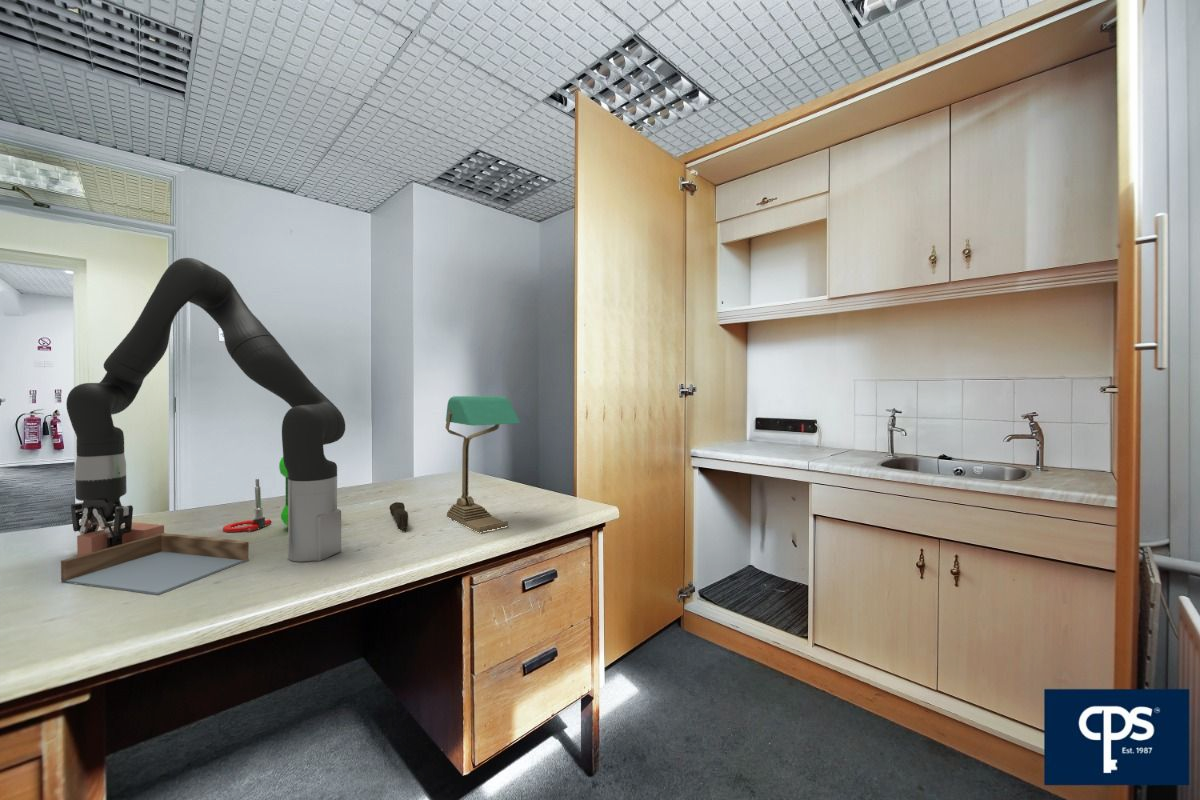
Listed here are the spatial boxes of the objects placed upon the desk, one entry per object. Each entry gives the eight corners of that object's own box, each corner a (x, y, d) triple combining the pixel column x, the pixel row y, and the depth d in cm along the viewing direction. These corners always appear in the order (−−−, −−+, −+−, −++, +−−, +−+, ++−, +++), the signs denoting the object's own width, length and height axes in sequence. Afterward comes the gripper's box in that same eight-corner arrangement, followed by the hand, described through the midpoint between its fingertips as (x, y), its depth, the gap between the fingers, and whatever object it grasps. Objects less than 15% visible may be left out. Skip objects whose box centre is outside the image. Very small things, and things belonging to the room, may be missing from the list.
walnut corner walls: (248, 560, 99) (248, 541, 99) (158, 594, 82) (157, 572, 82) (163, 550, 103) (163, 532, 103) (61, 581, 87) (60, 560, 87)
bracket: (164, 546, 106) (164, 525, 106) (110, 563, 96) (109, 539, 96) (133, 543, 108) (133, 522, 108) (77, 559, 98) (77, 535, 98)
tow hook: (214, 534, 117) (249, 533, 116) (211, 483, 117) (247, 482, 116) (241, 524, 125) (274, 523, 125) (239, 476, 125) (272, 476, 125)
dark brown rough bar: (389, 515, 135) (389, 500, 134) (404, 514, 136) (404, 498, 136) (392, 535, 118) (392, 517, 117) (409, 533, 119) (409, 515, 119)
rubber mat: (248, 560, 99) (248, 558, 99) (158, 594, 82) (158, 592, 82) (163, 550, 103) (163, 548, 103) (61, 581, 87) (61, 579, 87)
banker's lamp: (485, 510, 141) (486, 395, 140) (522, 526, 126) (524, 397, 125) (434, 519, 131) (435, 395, 130) (469, 538, 115) (470, 397, 114)
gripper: (147, 474, 102) (148, 549, 103) (97, 470, 105) (99, 543, 106) (105, 480, 95) (106, 561, 95) (52, 476, 98) (54, 555, 98)
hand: (102, 552), depth 100 cm, fingers open, 6 cm apart
